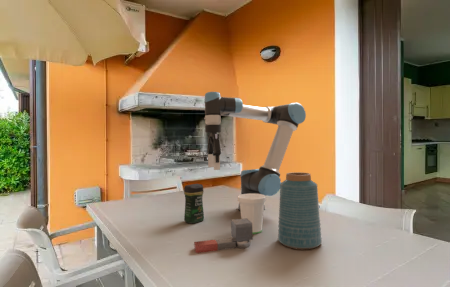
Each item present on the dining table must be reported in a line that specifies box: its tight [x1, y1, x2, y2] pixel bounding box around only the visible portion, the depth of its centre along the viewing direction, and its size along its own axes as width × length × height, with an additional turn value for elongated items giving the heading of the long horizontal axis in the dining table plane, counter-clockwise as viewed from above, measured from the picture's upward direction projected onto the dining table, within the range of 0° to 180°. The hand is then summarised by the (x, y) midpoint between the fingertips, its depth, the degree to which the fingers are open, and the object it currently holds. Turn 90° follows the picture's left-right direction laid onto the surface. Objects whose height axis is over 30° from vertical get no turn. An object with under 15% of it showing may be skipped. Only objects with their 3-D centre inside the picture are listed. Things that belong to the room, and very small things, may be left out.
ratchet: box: [193, 237, 251, 254], centre depth 102 cm, size 21×6×7 cm, turn 104°
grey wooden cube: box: [230, 218, 254, 242], centre depth 103 cm, size 6×6×6 cm
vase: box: [277, 171, 323, 251], centre depth 105 cm, size 16×16×27 cm
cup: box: [237, 194, 267, 235], centre depth 120 cm, size 12×12×15 cm
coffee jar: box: [183, 183, 205, 224], centre depth 136 cm, size 10×8×19 cm
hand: (213, 168), depth 131 cm, fingers open, 13 cm apart
